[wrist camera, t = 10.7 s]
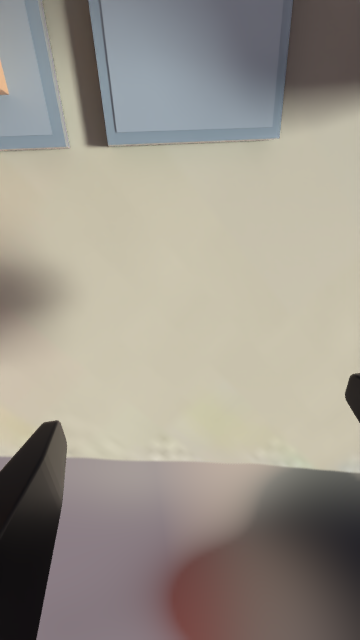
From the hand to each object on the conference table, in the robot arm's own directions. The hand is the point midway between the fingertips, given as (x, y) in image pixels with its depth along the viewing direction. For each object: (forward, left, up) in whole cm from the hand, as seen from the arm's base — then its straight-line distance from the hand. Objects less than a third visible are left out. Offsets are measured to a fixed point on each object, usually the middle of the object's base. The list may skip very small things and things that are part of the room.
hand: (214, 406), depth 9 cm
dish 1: (-2, -12, -12) cm, 17 cm away
